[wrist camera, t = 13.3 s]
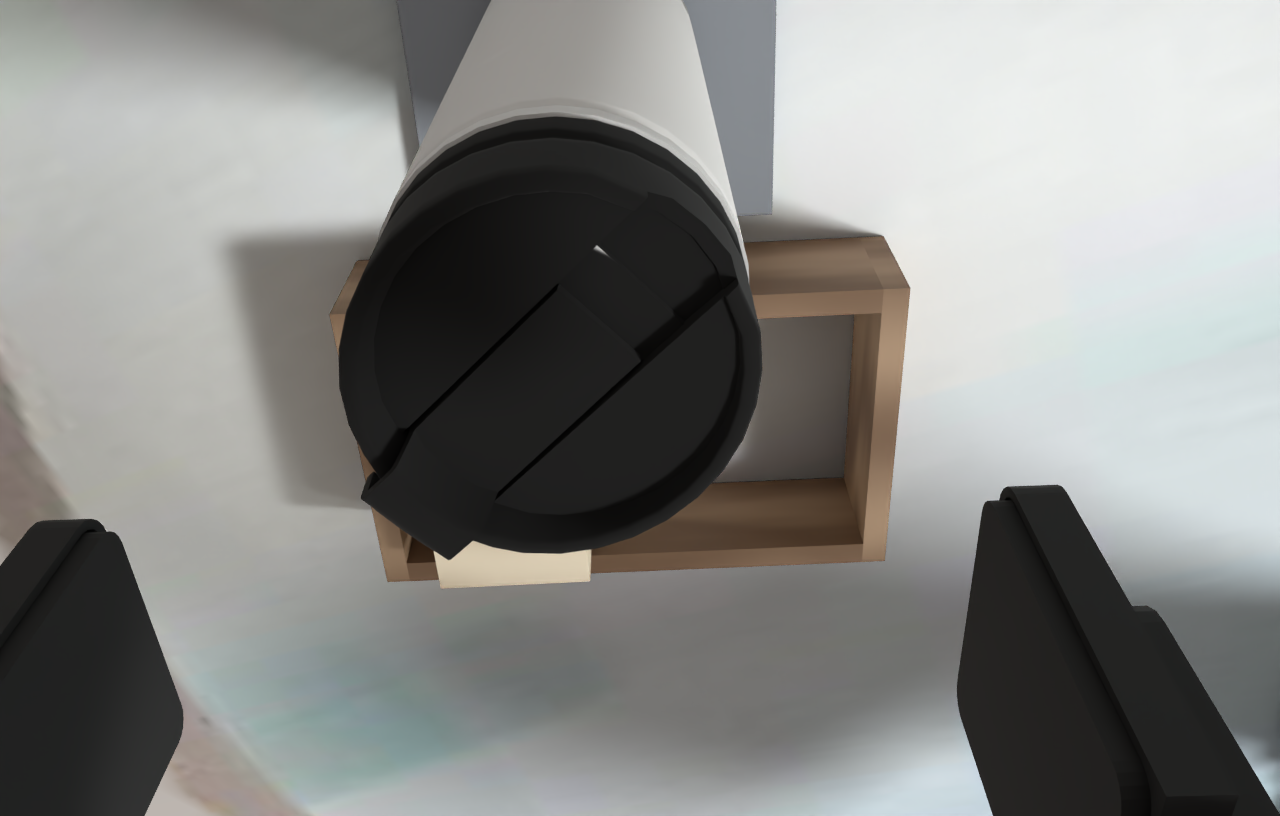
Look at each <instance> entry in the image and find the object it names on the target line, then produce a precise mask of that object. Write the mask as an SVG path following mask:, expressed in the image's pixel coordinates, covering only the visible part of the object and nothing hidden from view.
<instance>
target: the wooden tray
mask: <svg viewBox="0 0 1280 816" xmlns="http://www.w3.org/2000/svg"><path fill="white" fill-rule="evenodd" d="M744 248H745V252H746V256H747V260H748V265H749V285H750V289H751V292H752V297H753V301H754V306H755V310H756V315H757V319H762V318H784V317H807V316H829V315H851V314H854V328H853V343H852V359H851V374H850V389H849V404H848V420H847V435H846V450H845V466H844V478H823V479H800V480H777V481H754V482H731V483H711V484H710V485H709V486H708V487H707V488H706V489H705V491H704V492H703V493H702V494H701V495H700V496H699V497H698V498H697V499H695V500H694V501H692V502H691V503H690V504H688V505H687V506H686V507H684V508H683V509H682V510H680V511H679V512H678V513H676V514H675V515H674V516H672V517H671V518H670V519H668V520H667V521H665V522H663V523H661V524H659V525H657V526H655V527H653V528H651V529H649V530H647V531H645V532H643V533H641V534H639V535H637V536H635V537H633V538H630V539H626V540H623V541H620V542H617V543H614V544H611V545H607V546H604V547H601V548H598V549H591V573H611V572H634V571H658V570H681V569H705V568H729V567H752V566H776V565H800V564H823V563H847V562H871V561H885V551H886V541H887V530H888V519H889V509H890V498H891V488H892V477H893V466H894V456H895V445H896V435H897V424H898V413H899V403H900V392H901V382H902V371H903V360H904V350H905V339H906V328H907V318H908V307H909V297H910V287H909V285H908V283H907V281H906V279H905V277H904V275H903V273H902V271H901V269H900V267H899V265H898V263H897V261H896V259H895V257H894V256H893V254H892V252H891V250H890V248H889V246H888V244H887V242H886V240H885V238H884V236H877V237H856V238H834V239H813V240H791V241H769V242H748V243H744ZM368 262H369V260H360V261H357V262H356V264H355V266H354V268H353V270H352V271H351V273H350V275H349V277H348V279H347V281H346V283H345V285H344V287H343V289H342V291H341V293H340V295H339V297H338V299H337V301H336V303H335V305H334V307H333V309H332V311H331V313H330V320H331V324H332V329H333V333H334V338H335V343H336V347H337V352H338V356H339V345H340V340H341V335H342V329H343V324H344V319H345V314H346V310H347V308H348V306H349V303H350V301H351V299H352V297H353V294H354V292H355V290H356V288H357V285H358V283H359V281H360V279H361V276H362V274H363V272H364V270H365V268H366V266H367V264H368ZM357 444H358V442H357ZM358 448H359V453H360V457H361V462H362V467H363V471H364V476H365V480H367V477H368V476H369V475H370V474H371V473H372V472H373V471H374V469H373V468H372V466H371V465H370V463H369V462H368V460H367V459H366V457H365V456H364V454H363V452H362V450H361V448H360V446H359V444H358ZM374 472H375V471H374ZM375 473H376V472H375ZM371 508H372V512H373V517H374V522H375V526H376V531H377V535H378V540H379V545H380V549H381V554H382V558H383V563H384V568H385V572H386V577H387V581H388V582H398V581H421V580H439V576H438V571H437V566H436V561H435V556H434V551H433V550H432V549H430V548H428V547H427V546H425V545H424V544H422V543H421V542H419V541H418V540H416V539H415V538H413V537H412V536H410V535H409V534H407V533H406V532H404V531H403V530H401V529H400V528H399V527H397V526H396V525H395V524H393V523H392V522H391V521H389V520H388V519H386V518H385V517H384V516H382V515H381V514H380V513H378V512H377V511H376V510H375V509H374V508H373V507H371Z"/></svg>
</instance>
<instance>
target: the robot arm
mask: <svg viewBox="0 0 1280 816" xmlns="http://www.w3.org/2000/svg"><path fill="white" fill-rule="evenodd" d="M957 698H958V707H959V712H960V716H961V720H962V723H963V726H964V729H965V732H966V735H967V738H968V741H969V744H970V747H971V750H972V753H973V756H974V759H975V762H976V765H977V768H978V771H979V774H980V777H981V780H982V783H983V786H984V789H985V793H986V796H987V799H988V802H989V805H990V808H991V811H992V814H993V816H1280V814H1279V812H1278V811H1277V809H1276V807H1275V806H1274V804H1273V802H1272V801H1271V799H1270V797H1269V796H1268V794H1267V792H1266V791H1265V789H1264V787H1263V786H1262V784H1261V782H1260V781H1259V779H1258V777H1257V776H1256V774H1255V772H1254V771H1253V769H1252V767H1251V766H1250V764H1249V762H1248V761H1247V759H1246V757H1245V756H1244V754H1243V752H1242V751H1241V749H1240V747H1239V746H1238V744H1237V742H1236V741H1235V739H1234V737H1233V736H1232V734H1231V732H1230V731H1229V729H1228V727H1227V726H1226V724H1225V722H1224V721H1223V719H1222V717H1221V716H1220V714H1219V712H1218V711H1217V709H1216V707H1215V706H1214V704H1213V702H1212V701H1211V699H1210V697H1209V696H1208V694H1207V692H1206V691H1205V689H1204V687H1203V686H1202V684H1201V682H1200V681H1199V679H1198V677H1197V676H1196V674H1195V672H1194V671H1193V669H1192V667H1191V666H1190V664H1189V662H1188V661H1187V659H1186V657H1185V656H1184V654H1183V652H1182V651H1181V649H1180V647H1179V646H1178V644H1177V642H1176V641H1175V639H1174V637H1173V635H1172V634H1171V632H1170V630H1169V629H1168V627H1167V625H1166V624H1165V622H1164V621H1163V620H1162V618H1161V617H1160V616H1159V614H1158V613H1157V612H1156V611H1155V610H1153V609H1152V608H1150V607H1148V606H1131V604H1130V602H1129V601H1128V599H1127V597H1126V595H1125V594H1124V592H1123V590H1122V588H1121V587H1120V585H1119V583H1118V581H1117V580H1116V578H1115V576H1114V574H1113V573H1112V571H1111V569H1110V567H1109V566H1108V564H1107V562H1106V560H1105V559H1104V557H1103V555H1102V553H1101V552H1100V550H1099V548H1098V546H1097V545H1096V543H1095V541H1094V539H1093V538H1092V536H1091V534H1090V532H1089V531H1088V529H1087V527H1086V525H1085V524H1084V522H1083V520H1082V518H1081V517H1080V515H1079V513H1078V511H1077V510H1076V508H1075V506H1074V504H1073V503H1072V501H1071V499H1070V497H1069V496H1068V494H1067V492H1066V491H1065V490H1064V488H1063V487H1062V486H1059V485H1041V486H1012V487H1006V488H1004V489H1003V491H1002V493H1001V495H1000V499H999V501H987V502H985V504H984V506H983V510H982V516H981V523H980V529H979V536H978V543H977V550H976V557H975V564H974V571H973V578H972V585H971V591H970V598H969V605H968V612H967V619H966V626H965V633H964V640H963V647H962V653H961V660H960V667H959V674H958V682H957ZM182 729H183V709H182V705H181V702H180V699H179V697H178V694H177V691H176V689H175V686H174V683H173V680H172V678H171V675H170V672H169V669H168V667H167V664H166V661H165V659H164V656H163V653H162V650H161V648H160V645H159V642H158V639H157V637H156V634H155V631H154V629H153V626H152V623H151V620H150V618H149V615H148V612H147V609H146V607H145V604H144V601H143V599H142V596H141V593H140V590H139V588H138V585H137V582H136V579H135V577H134V574H133V571H132V569H131V566H130V563H129V560H128V558H127V555H126V552H125V549H124V547H123V544H122V542H121V540H120V538H119V536H118V535H117V534H116V533H114V532H106V530H105V529H104V527H103V525H102V524H101V523H100V522H98V521H97V520H93V519H76V520H48V521H40V522H37V523H35V524H34V525H33V526H32V527H31V528H30V529H29V530H28V531H27V533H26V534H25V535H24V536H23V538H22V539H21V540H20V541H19V543H18V544H17V545H16V546H15V548H14V549H13V550H12V552H11V553H10V554H9V555H8V557H7V558H6V559H5V560H4V562H3V563H2V564H1V565H0V816H144V815H145V813H146V811H147V809H148V807H149V805H150V803H151V801H152V798H153V796H154V794H155V792H156V790H157V788H158V786H159V784H160V781H161V779H162V777H163V775H164V773H165V771H166V769H167V766H168V764H169V762H170V760H171V758H172V756H173V754H174V752H175V749H176V747H177V745H178V743H179V740H180V738H181V734H182Z"/></svg>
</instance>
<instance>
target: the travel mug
mask: <svg viewBox="0 0 1280 816" xmlns="http://www.w3.org/2000/svg"><path fill="white" fill-rule="evenodd" d="M761 374H762V351H761V331H760V328H759V324H758V319H757V315H756V310H755V306H754V301H753V297H752V292H751V289H750V285H749V265H748V260H747V256H746V252H745V248H744V243H743V239H742V235H741V230H740V226H739V222H738V218H737V213H736V209H735V205H734V201H733V197H732V192H731V188H730V184H729V180H728V176H727V171H726V167H725V163H724V159H723V154H722V150H721V146H720V142H719V138H718V133H717V129H716V125H715V121H714V116H713V112H712V108H711V104H710V100H709V95H708V91H707V87H706V83H705V79H704V74H703V70H702V66H701V62H700V57H699V53H698V49H697V45H696V41H695V36H694V32H693V28H692V24H691V21H690V17H689V13H688V9H687V7H686V5H685V3H684V1H683V0H491V2H490V4H489V6H488V8H487V10H486V12H485V14H484V16H483V18H482V20H481V22H480V24H479V26H478V28H477V30H476V32H475V34H474V37H473V39H472V41H471V43H470V45H469V47H468V49H467V51H466V53H465V55H464V57H463V59H462V61H461V63H460V65H459V67H458V69H457V71H456V73H455V76H454V78H453V80H452V82H451V84H450V86H449V88H448V90H447V92H446V94H445V96H444V98H443V100H442V102H441V104H440V106H439V108H438V110H437V113H436V115H435V117H434V119H433V121H432V123H431V125H430V127H429V129H428V131H427V133H426V135H425V137H424V139H423V141H422V143H421V145H420V147H419V149H418V152H417V154H416V156H415V158H414V160H413V162H412V164H411V166H410V168H409V170H408V172H407V174H406V176H405V178H404V180H403V183H402V185H401V187H400V189H399V191H398V193H397V195H396V197H395V199H394V201H393V203H392V205H391V208H390V210H389V212H388V215H387V217H386V219H385V221H384V224H383V226H382V228H381V230H380V235H379V240H378V243H377V245H376V247H375V249H374V251H373V253H372V255H371V257H370V260H369V262H368V264H367V266H366V268H365V270H364V272H363V274H362V276H361V279H360V281H359V283H358V285H357V288H356V290H355V292H354V294H353V297H352V299H351V301H350V303H349V306H348V308H347V310H346V314H345V319H344V324H343V329H342V335H341V340H340V345H339V386H340V392H341V396H342V400H343V404H344V408H345V412H346V415H347V419H348V423H349V426H350V428H351V430H352V432H353V434H354V436H355V438H356V440H357V442H358V444H359V446H360V448H361V450H362V452H363V454H364V456H365V457H366V459H367V460H368V462H369V463H370V465H371V466H372V468H373V469H374V471H375V472H376V473H375V472H374V471H373V472H372V473H371V474H370V475H369V476H368V477H367V480H366V483H365V486H364V489H363V492H362V495H361V499H362V500H363V501H365V502H366V503H367V504H369V505H370V506H371V507H373V508H374V509H375V510H376V511H377V512H378V513H380V514H381V515H382V516H384V517H385V518H386V519H388V520H389V521H391V522H392V523H393V524H395V525H396V526H397V527H399V528H400V529H401V530H403V531H404V532H406V533H407V534H409V535H410V536H412V537H413V538H415V539H416V540H418V541H419V542H421V543H422V544H424V545H425V546H427V547H428V548H430V549H432V550H433V551H435V552H436V553H438V554H439V555H441V556H443V557H444V558H446V559H447V560H451V559H452V558H453V557H455V556H456V555H457V554H458V553H459V552H460V551H462V550H463V549H464V548H465V547H466V546H467V545H469V544H470V543H471V542H472V541H475V542H478V543H481V544H484V545H487V546H490V547H493V548H499V549H504V550H509V551H515V552H520V553H545V554H563V553H570V552H577V551H584V550H591V549H598V548H601V547H604V546H607V545H611V544H614V543H617V542H620V541H623V540H626V539H630V538H633V537H635V536H637V535H639V534H641V533H643V532H645V531H647V530H649V529H651V528H653V527H655V526H657V525H659V524H661V523H663V522H665V521H667V520H668V519H670V518H671V517H672V516H674V515H675V514H676V513H678V512H679V511H680V510H682V509H683V508H684V507H686V506H687V505H688V504H690V503H691V502H692V501H694V500H695V499H697V498H698V497H699V496H700V495H701V494H702V493H703V492H704V491H705V489H706V488H707V487H708V486H709V485H710V484H711V483H712V482H713V481H714V480H715V479H716V478H717V477H718V476H719V475H720V473H721V472H722V471H723V470H724V469H725V467H726V466H727V464H728V462H729V461H730V459H731V458H732V456H733V454H734V453H735V451H736V450H737V448H738V447H739V445H740V443H741V442H742V440H743V438H744V436H745V433H746V431H747V428H748V425H749V423H750V420H751V418H752V415H753V413H754V410H755V407H756V404H757V398H758V392H759V386H760V380H761Z"/></svg>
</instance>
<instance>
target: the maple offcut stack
mask: <svg viewBox="0 0 1280 816" xmlns="http://www.w3.org/2000/svg"><path fill="white" fill-rule="evenodd" d="M434 556H435V561H436V566H437V571H438V576H439V582H440V587H441V589H445V588H465V587H486V586H507V585H527V584H548V583H569V582H589V581H590V573H591V550H584V551H577V552H570V553H563V554H545V553H520V552H515V551H509V550H504V549H499V548H493V547H490V546H487V545H484V544H481V543H478V542H475V541H472V542H471V543H470V544H469V545H467V546H466V547H465V548H464V549H463V550H462V551H460V552H459V553H458V554H457V555H456V556H455V557H453V558H452V559H451V560H447V559H446V558H444V557H443V556H441V555H439V554H438V553H436V552H435V551H434Z"/></svg>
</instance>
